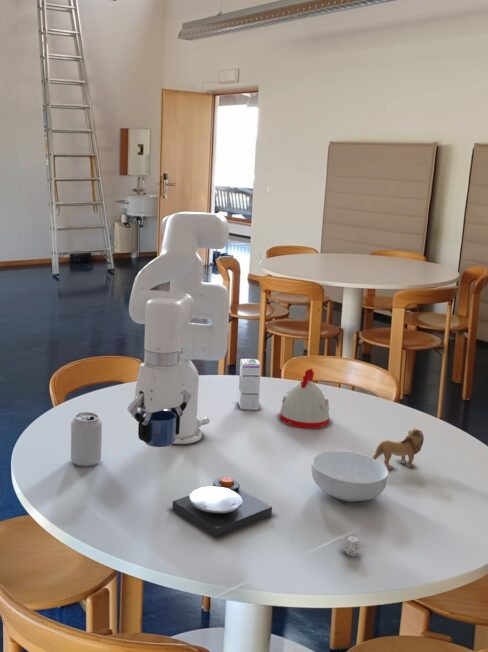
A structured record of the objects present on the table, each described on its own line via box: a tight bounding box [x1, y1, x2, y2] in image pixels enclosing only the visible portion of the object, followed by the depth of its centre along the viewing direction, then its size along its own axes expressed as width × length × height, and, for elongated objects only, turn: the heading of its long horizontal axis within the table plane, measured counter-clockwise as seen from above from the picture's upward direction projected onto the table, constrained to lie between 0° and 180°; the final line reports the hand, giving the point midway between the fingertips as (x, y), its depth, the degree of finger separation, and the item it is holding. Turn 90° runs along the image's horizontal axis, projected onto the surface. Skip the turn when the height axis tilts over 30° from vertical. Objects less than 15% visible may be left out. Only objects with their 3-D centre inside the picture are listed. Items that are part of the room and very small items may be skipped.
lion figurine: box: [372, 428, 425, 470], centre depth 179 cm, size 15×5×9 cm, turn 110°
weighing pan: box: [189, 486, 242, 513], centre depth 151 cm, size 11×11×1 cm
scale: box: [171, 477, 273, 539], centre depth 153 cm, size 16×14×4 cm
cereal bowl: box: [311, 450, 389, 503], centre depth 162 cm, size 17×17×7 cm
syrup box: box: [237, 358, 261, 411], centre depth 217 cm, size 6×6×14 cm
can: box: [70, 411, 103, 467], centre depth 175 cm, size 8×8×12 cm
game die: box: [342, 535, 362, 557], centre depth 139 cm, size 4×4×3 cm
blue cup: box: [143, 410, 177, 448], centre depth 153 cm, size 7×7×6 cm
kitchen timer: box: [279, 368, 330, 429], centre depth 208 cm, size 14×14×15 cm
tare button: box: [220, 476, 234, 487], centre depth 159 cm, size 3×3×1 cm
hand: (159, 435), depth 153 cm, fingers closed on blue cup, 7 cm apart
